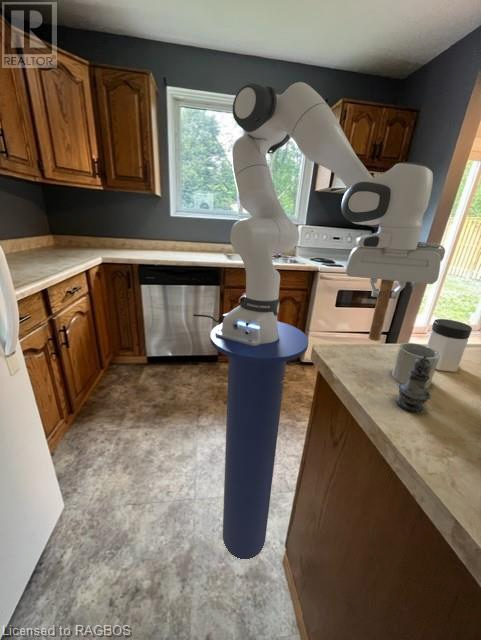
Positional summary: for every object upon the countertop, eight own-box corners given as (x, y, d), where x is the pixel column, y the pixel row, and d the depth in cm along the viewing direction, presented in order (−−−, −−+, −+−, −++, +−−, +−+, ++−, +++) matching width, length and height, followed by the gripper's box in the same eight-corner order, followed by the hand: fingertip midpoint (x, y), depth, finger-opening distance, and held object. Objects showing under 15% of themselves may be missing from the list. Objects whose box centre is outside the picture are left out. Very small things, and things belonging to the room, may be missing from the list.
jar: (448, 359, 79) (461, 320, 74) (465, 373, 71) (481, 331, 67) (415, 355, 80) (426, 317, 76) (429, 369, 72) (442, 327, 68)
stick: (369, 339, 72) (384, 272, 65) (367, 336, 74) (382, 270, 68) (380, 341, 71) (397, 273, 65) (378, 337, 73) (394, 271, 67)
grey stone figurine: (388, 401, 58) (402, 351, 54) (403, 393, 61) (417, 345, 57) (416, 418, 53) (434, 364, 49) (431, 408, 56) (449, 357, 52)
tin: (395, 384, 65) (404, 354, 62) (389, 368, 72) (396, 340, 69) (434, 391, 62) (445, 361, 60) (423, 374, 70) (432, 346, 67)
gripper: (442, 242, 64) (426, 299, 69) (350, 237, 69) (341, 290, 74) (453, 244, 58) (434, 305, 63) (352, 238, 64) (342, 295, 68)
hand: (383, 297), depth 69 cm, fingers closed on stick, 3 cm apart
